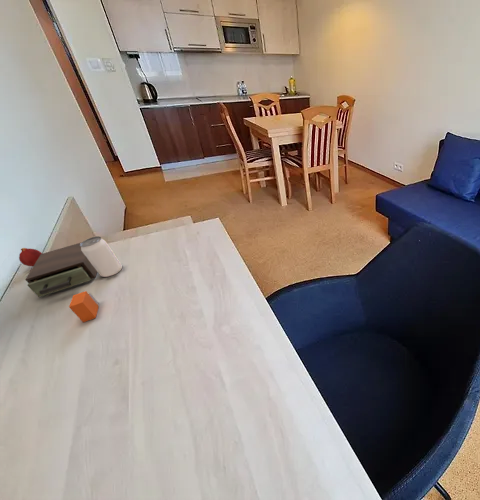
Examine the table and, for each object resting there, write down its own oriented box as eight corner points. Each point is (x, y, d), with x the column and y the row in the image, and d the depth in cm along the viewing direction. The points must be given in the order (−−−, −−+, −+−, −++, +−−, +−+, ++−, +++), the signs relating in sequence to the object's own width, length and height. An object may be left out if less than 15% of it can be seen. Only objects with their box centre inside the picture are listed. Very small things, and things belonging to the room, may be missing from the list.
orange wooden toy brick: (83, 322, 81) (68, 307, 78) (87, 307, 86) (74, 291, 83) (95, 317, 82) (82, 302, 79) (99, 302, 87) (87, 287, 84)
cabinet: (95, 277, 98) (82, 261, 94) (40, 295, 93) (24, 279, 89) (102, 254, 109) (91, 239, 106) (53, 269, 105) (40, 254, 101)
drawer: (87, 288, 92) (78, 276, 89) (34, 305, 88) (22, 293, 85) (97, 257, 106) (89, 246, 103) (51, 271, 102) (41, 260, 99)
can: (104, 268, 102) (82, 239, 95) (125, 263, 103) (105, 233, 96) (98, 280, 97) (74, 249, 90) (120, 274, 98) (99, 243, 91)
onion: (34, 263, 109) (17, 245, 104) (52, 259, 110) (37, 241, 105) (25, 273, 104) (7, 254, 100) (44, 268, 106) (27, 250, 101)
